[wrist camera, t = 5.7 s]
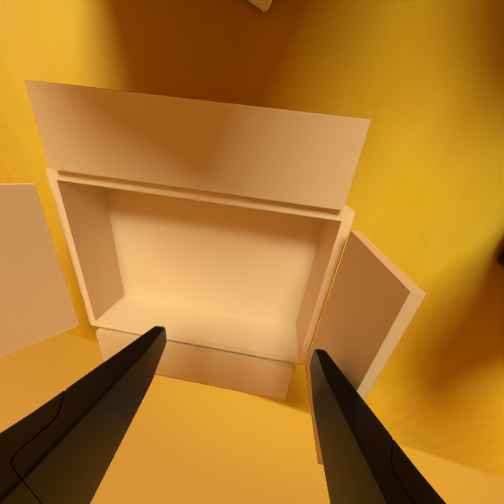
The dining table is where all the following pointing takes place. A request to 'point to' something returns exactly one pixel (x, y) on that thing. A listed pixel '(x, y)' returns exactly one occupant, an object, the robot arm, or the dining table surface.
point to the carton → (201, 224)
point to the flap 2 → (363, 316)
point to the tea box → (261, 4)
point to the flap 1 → (29, 273)
